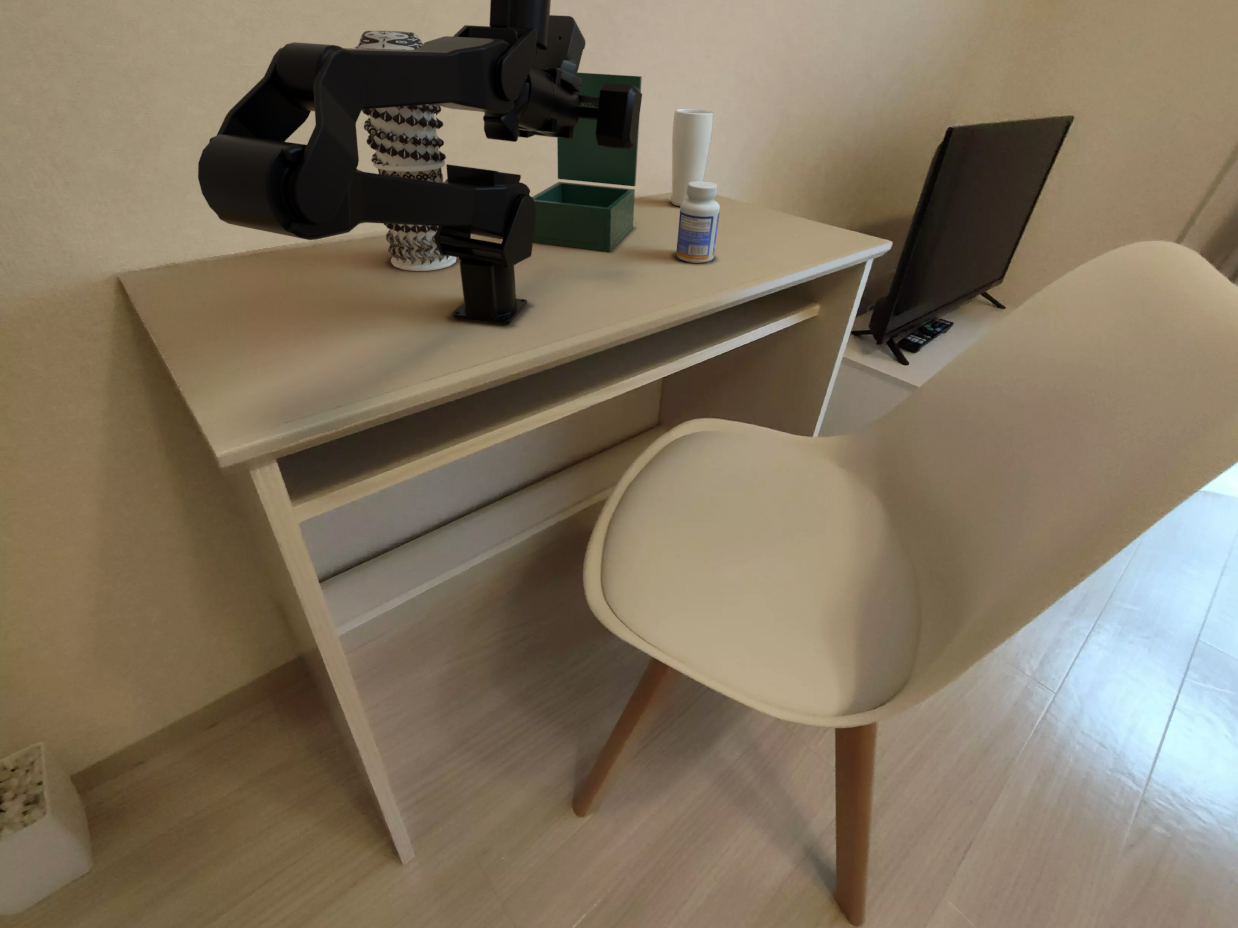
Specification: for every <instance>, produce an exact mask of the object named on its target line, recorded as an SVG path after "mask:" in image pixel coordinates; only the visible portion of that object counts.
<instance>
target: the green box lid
mask: <svg viewBox="0 0 1238 928" xmlns="http://www.w3.org/2000/svg"><path fill="white" fill-rule="evenodd" d="M576 76H577V77H579V78H581V79H582V89H581V92H577V95H588V96H599V97H600V90H601V88H602V86H603V84H604V83H605V82H606V83H619V84H632V85H634V86H635V87H637V88H638V89H639V90H640V92H641V93H642V80H643V79H642V78H643V77H642V76H640V75H626V74H625V75H624V74H612V73H611V74H610V73H594V72H593V73H592V72H579V71H577V74H576ZM580 107H590V108H598V107H599V106H598V107H596V106H595V107H594V106H593V105H592V107H591V106H590V105H589V106H587V104H586V106H584V104H583V106H582V105H581V104H580ZM596 126H597V120H592V119H582V118H579V120H578V123H577V125H576V127H574V134H573V139H565V138H556V139H557V141H556V142H557V145H556V146H557V149H556V150H557V180H564V181H574V182H585V183H594V184H596V183H597V184H605V185H616V186H627V187H636V186H637V185H636V184H637V168H638V167H637V166H638V152H639V151H638V150H639V135H640V134H639V132H640V122H639V123H638V131H637V139H636V145H635V146H634V147H633V148H632V149H631V150H626V149H617V148H609V147H604V146H600V145H598V143H597V139H596Z"/></svg>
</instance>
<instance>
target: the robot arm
mask: <svg viewBox="0 0 1238 928" xmlns="http://www.w3.org/2000/svg"><path fill="white" fill-rule="evenodd" d="M551 3H552V0H490V4H489V5H490V6H489V7H490V8H489V26H487V25H469V24H468V25H467V24H465V25H463V26H462V27H461V28H460V29H459V30H458V31H457V32H456V33H455V34H453V36H451V35H449V36H448V35H445V36H441V37H438V38H435V39H432V40H428V41H425V42H424V43H423V45H422V47H421V48H418V49H414V50H387V49H356V48H353V47H352V48H350V47H349V48H347V47H341V46H339V45H336V44H326V43H325V44H323V43H312V42H311V43H310V42H309V43H308V42H298V41H297V42H289V43H286V44H285V45H284V46H283V47H280V48H278V50H277V51H276V52H275V53H274V55H272V59H271V60H270V62H269V65H268V67H267V69H266V72H265V74H264V76H263V77H262V78H261V79H260V80H259V81H258V82H257V83H256V84H255V85H254V86H253V87H252V88H250V90H249V91H248V92H247V93H245V95H244V96H243V97H241V98H240V100H239V101H237V103H236V104H234V106H232V108H230V109H229V111H228V112H227V113H226V115H225V117H224V118H223V120H222V123H221V125H220V127H219V130H218V132H217V133H216V135H215V136H212V137H210V138H209V141H208V143H207V144H206V145H205V147H204V148H203V149H202V151H201V154H200V157H199V159H198V163H197V179H198V184H199V188H200V191H201V194H202V196H203V198H204V199H205V201H206V203H207V205H208V206H209V207H208V208H209V209H211V210H212V211H213V212H214V213H215V214H216V215H217V217H218V219H219V220H220V221H222V222H224V223H226V224H227V225H232V226H237V227H242V228H247V229H252V230H257V231H262V232H267V233H273V234H278V235H282V236H287V237H291V238H297V239H301V240H307V241H315V240H316V241H317V240H322V239H326V238H331V237H334V236H335V237H336V236H339V235H343V234H348V233H351V231H353V230H354V229H355V228H356V227H357V226H359V225H361V224H383V223H385V224H407V225H429V226H439V227H438V229H437V232H436V234H435V238H434V239H435V242H436V245H437V247H438V250H439V252H440V255H443V256H446V255H448V256H453V257H456V258H458V263H459V272H460V280H461V287H462V296H463V297H462V298H463V303H462V304H461V305H460V306H458V308H457V309H455V310H453V312H452V318H453V319H457V320H464V321H474V322H482V323H490V324H496V325H497V324H498V325H510V324H511V323H512V322H513V321H514V320H515V319H516V318H517V316H518V315H520V313H521V312H522V311H523V310H524V309H525V308H526V306H528V300H527V299H525V298H517V289H516V275H515V272H516V271H515V266H516V265H517V264H519V263H521V262H523V261H525V260H527V259H528V258H530V257H532V254H533V253H532V251H533V244H534V242H533V237H534V229H535V221H536V205H535V202H534V200H533V198H532V197H533V196H531V195H530V193H531V189H530V187H529V186H528V185H527V184H525V183H523V182H521V179H522V174H517V173H510V172H502V171H499V170H492V169H487V168H478V167H470V166H463V165H455V164H450V163H449V164H446V163H445V165H446V166H445V167H446V179H445V180H444V181H443V182H442V183H438V182H431V181H424V180H417V179H410V178H403V177H396V176H389V175H382V174H379V173H375V172H369V171H368V172H367V171H362V170H360V169H358V166H359V162H360V159H359V158H360V157H359V147H358V134H357V133H358V132H357V122H358V120H359V117H360V115H361V112H362V111H361V110H363V109H376V108H389V107H401V106H414V105H427V104H433V105H437V106H440V107H441V108H447V109H450V110H459V111H469V112H470V111H471V112H481V113H484V114H483V117H482V120H483V131H484V135H485V138H486V139H488V140H495V141H504V142H511V143H516V142H517V141H518V140H519V138H523V139H524V138H525V139H528V138H531V137H534V136H538V137H546V138H547V137H548V138H556V139H557V138H565V139H573V134H574V127H576V125H577V123H578V120H579V118H582V119H592V120H597V126H596V139H597V143H598V145H600V146H604V147H609V148H617V149H626V150H631V149H632V148H633V147H634V146H635V145H636V139H637V131H638V123H639V124H640V115H641V108H642V100H643V93H642V91H641V92H640V90H639V89H638V88H637V87H635V86H634V85H632V84H619V83H606V82H605V83H604V84H603V86H602V88H601V90H600V97H599V96H588V95H577V92H581V89H582V79H581V78H579V77H577V76H576V74H577V72H579V68H580V64H581V61H582V60H581V59H582V57H583V53H584V50H585V48H586V39H585V37H584V35H583V32H582V31H581V29H580V27H579V26H578V24H577V22H576V20H575V19H574V17H572V16H571V15H556V14H551V5H552V4H551ZM580 104H581V105H582V106H583V104H584V106H586V104H587V106H589V105H590V106H591V107H592V105H593V106H594V107H595V106H596V107H598V106H599V107H598V108H590V107H580ZM311 112H314V121H315V124H314V128H313V130H312V133H311V134H310V137H309V139H308V141H307V142H306V143H307V144H305V143H304V144H303V143H296V142H289V141H287V140H288V139H289V138H290V137H291V136H292V135H293V134H294V133H295V132H296V131H297V130H299V128H300V127H302V125H304V123H306V122H307V120H308V118H309V117H310V114H311ZM472 235H475V236H480V237H486V238H491V239H497V240H501V243H500V242H494V241H488V240H483V239H477V238H471V236H472Z"/></svg>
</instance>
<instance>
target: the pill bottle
mask: <svg viewBox="0 0 1238 928" xmlns="http://www.w3.org/2000/svg"><path fill="white" fill-rule="evenodd" d="M718 188H719V187H718V184H717V183H714V182H711V181H704V180H703V181H695V182H690V183H688V187H687V195H688V199H685V200H684V201H683V202H682V203H681V207H680V208H679V218H678V228H677V229H678V230H677V231H678V232H677V241H676V249H675V254H676V257H677V258H678V260H681V261H684V262H687V263H692V264H693V263H694V264H702V263H708V262H710V261H712V260H713V259H714V257H715V251H716V244H717V236H718V228H719V221H720V212H721V206H720V204H719V202H717V200H715V198H717V195H718Z"/></svg>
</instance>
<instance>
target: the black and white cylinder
mask: <svg viewBox="0 0 1238 928" xmlns="http://www.w3.org/2000/svg"><path fill="white" fill-rule="evenodd" d="M423 44H424V43H423V41H422V40H421V38H420V37H419V36H418V34H416V33H415V32H411V31H398V30H396V31H395V30H365V31H364V32H363V33H362V34H361V36H360V38H359V43H358V44H357V46H354V47H353V49H387V50H414V49H418V48H421V47H422V45H423ZM361 112H362V114H364V115H365V116H367V117H368V118H367V119H366V120H365V121H364V124H363V129H364V131H366V132H367V134H369V135H368V136H367V139H366V144H367V145H368V146H369V148H370V149H372V150H374V151H375V152H374V153H373V154H372V155H371V157H372V158H371V163H372V165H373V166H374V168H376V169H377V171H378V174H382V175H389V176H396V177H403V178H410V179H417V180H424V181H431V182H438V183H442V182H444V175H443V172H442V168H444V167H445V165H446V161H445V160H446V159H447V156H446V154H445V153H444V152H442V151H441V147H443V146H444V145H445V141H444V140H443V139H441V138H440V137H439V135H438V134H437V133H438V132H437V130H440V129H441V128H443V127H444V122H443V121H442V120H441V119H439V118H438V117H437V115H438V114H440V113H441V112H442V106H437V105H433V104H427V105H414V106H401V107H389V108H376V109H363V110H361ZM435 115H436V117H435ZM382 224H383V225H384V226H385V227H386V228H387V229H388V231H387V233H386V234H385V240H386V241H387V243H389V246H388V247H387V251H388V253H389V254H390V255H391V256H392V257H391V259H390V262H391V264H392V266H393V267H394V268H397V269H399V270H400V269H401V270H405V271H412V272H428V271H435V270H442V269H444V268H448V267H451V266H452V265H453V264H456V263H457V258H458V257H453V256H448V255H446V256H443V255H440V252H439V250H438V247H437V245H436V242H435V239H434V238H435V234H436V232H437V229H438V227H439V226H429V225H407V224H385V223H382Z"/></svg>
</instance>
